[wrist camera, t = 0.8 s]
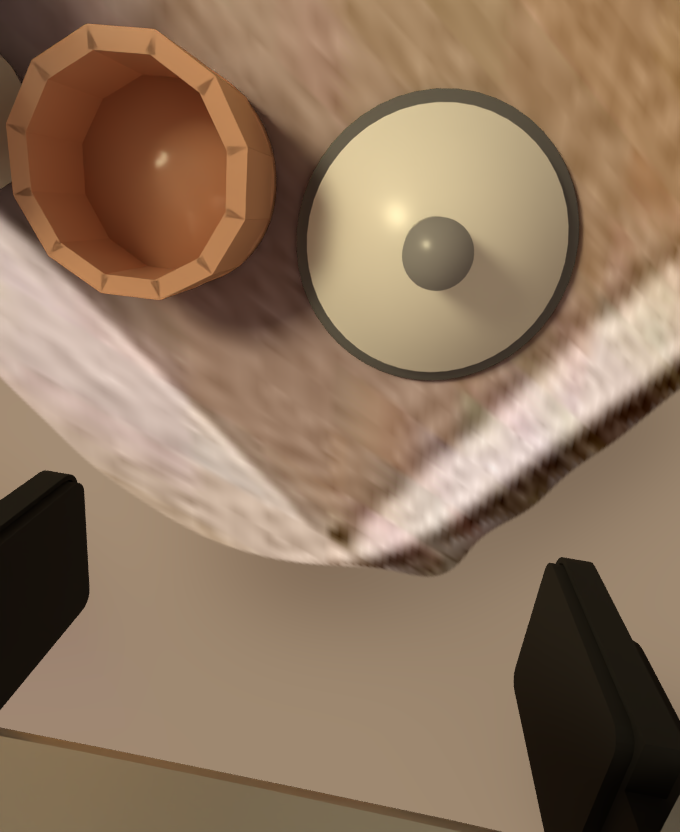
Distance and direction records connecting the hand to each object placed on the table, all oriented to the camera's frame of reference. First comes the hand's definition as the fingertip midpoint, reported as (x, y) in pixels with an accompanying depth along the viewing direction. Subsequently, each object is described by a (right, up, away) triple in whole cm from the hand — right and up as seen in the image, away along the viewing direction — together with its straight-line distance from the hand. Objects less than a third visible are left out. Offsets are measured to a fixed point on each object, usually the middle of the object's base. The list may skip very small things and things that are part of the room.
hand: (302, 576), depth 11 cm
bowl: (-8, +16, +19) cm, 26 cm away
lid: (+6, +12, +18) cm, 22 cm away
